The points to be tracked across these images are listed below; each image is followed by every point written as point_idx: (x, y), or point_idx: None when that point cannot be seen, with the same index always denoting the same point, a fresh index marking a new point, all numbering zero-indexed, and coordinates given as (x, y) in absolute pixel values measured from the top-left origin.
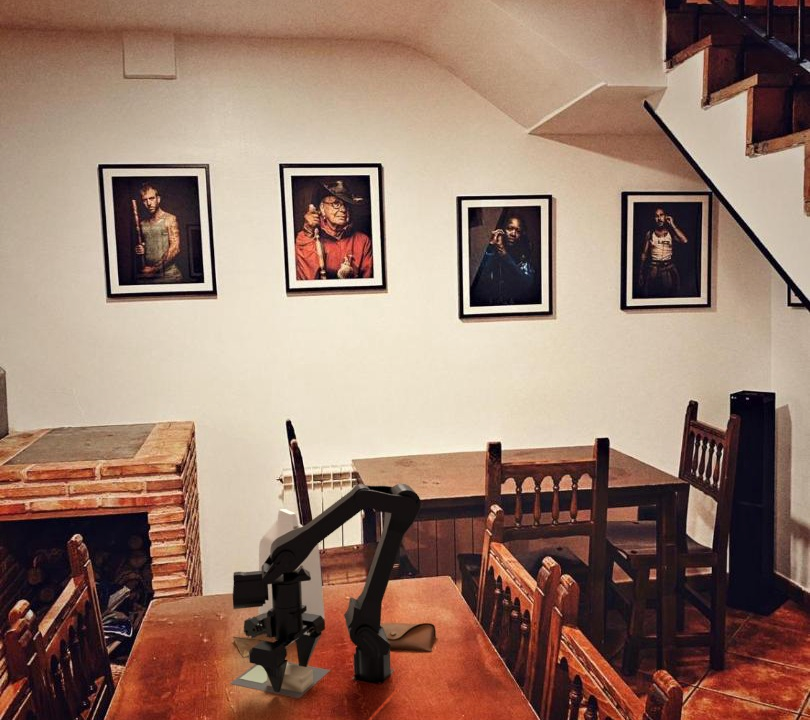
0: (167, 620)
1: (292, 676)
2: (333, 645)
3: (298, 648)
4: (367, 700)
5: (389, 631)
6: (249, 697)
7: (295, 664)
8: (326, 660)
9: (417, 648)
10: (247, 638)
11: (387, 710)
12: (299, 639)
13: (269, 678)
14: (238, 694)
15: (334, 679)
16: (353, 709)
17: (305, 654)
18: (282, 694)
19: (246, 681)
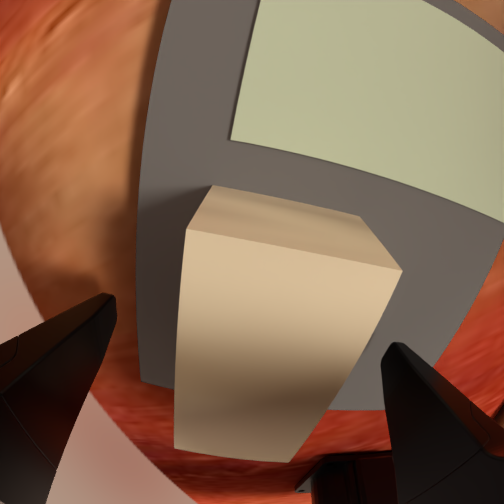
0: None
1: (174, 415)
2: None
3: (456, 439)
4: (223, 479)
5: None
6: (89, 120)
7: (486, 264)
8: (494, 348)
9: None
10: None
11: (194, 493)
12: (477, 497)
13: (30, 334)
14: (109, 34)
15: (345, 422)
16: (171, 466)
17: (410, 444)
18: (138, 314)
19: (245, 5)
